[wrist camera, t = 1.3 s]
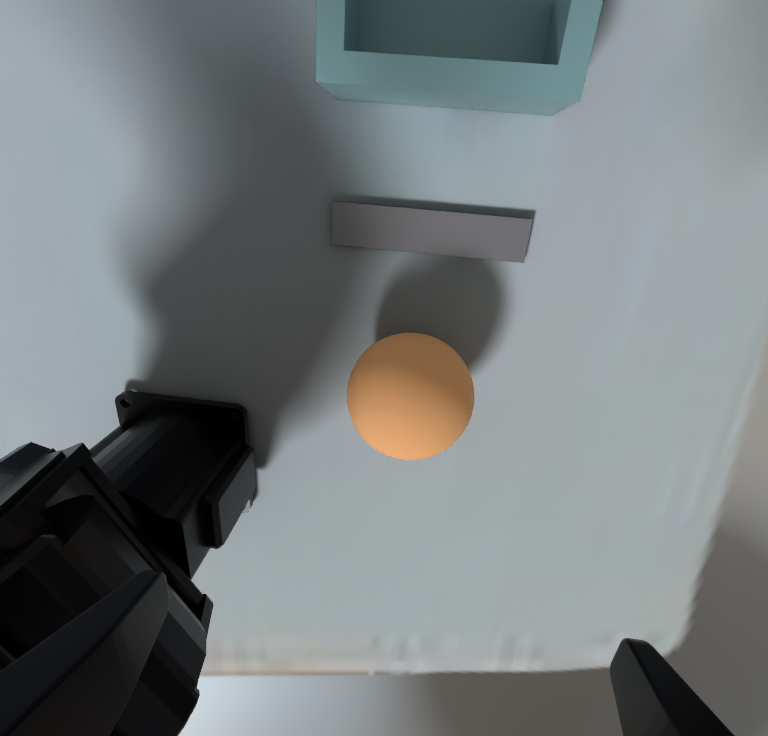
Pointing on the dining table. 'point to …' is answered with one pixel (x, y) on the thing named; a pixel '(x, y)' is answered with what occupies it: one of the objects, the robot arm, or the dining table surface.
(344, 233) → the gray ramp board
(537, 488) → the dining table surface
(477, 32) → the tray
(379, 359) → the ball
